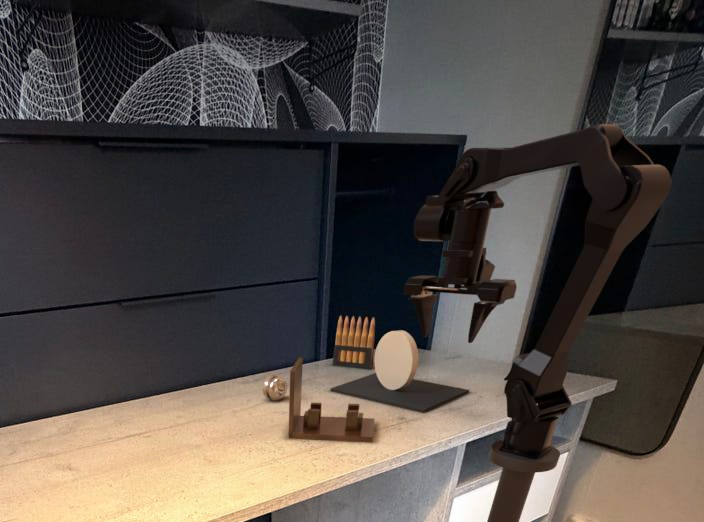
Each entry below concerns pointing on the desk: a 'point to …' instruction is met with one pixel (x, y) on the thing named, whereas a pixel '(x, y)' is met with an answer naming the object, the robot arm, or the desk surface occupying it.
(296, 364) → the stand
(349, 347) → the ammunition clip
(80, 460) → the desk surface
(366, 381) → the mat
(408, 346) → the plate
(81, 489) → the desk surface
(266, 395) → the metal grooved wheel
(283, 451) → the desk surface
